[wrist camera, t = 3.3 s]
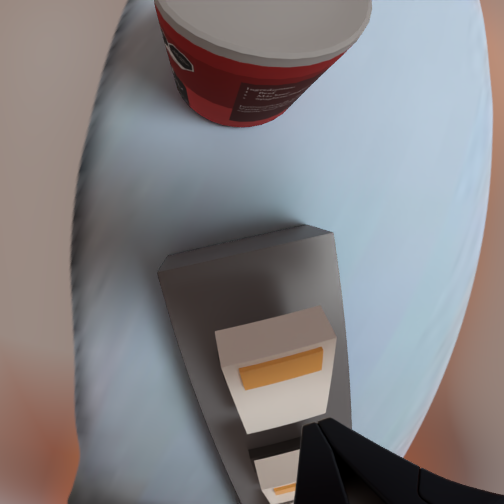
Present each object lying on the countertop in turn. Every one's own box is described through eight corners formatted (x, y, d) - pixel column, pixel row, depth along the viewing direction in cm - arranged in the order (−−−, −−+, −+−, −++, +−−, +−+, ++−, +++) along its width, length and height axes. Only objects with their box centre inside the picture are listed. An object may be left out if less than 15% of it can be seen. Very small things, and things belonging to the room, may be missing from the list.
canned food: (202, 14, 17) (204, -100, 6) (311, 52, 18) (388, -37, 8) (155, 107, 18) (105, 21, 7) (274, 148, 19) (348, 100, 9)
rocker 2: (325, 467, 19) (333, 490, 17) (265, 483, 18) (271, 507, 16) (334, 438, 14) (346, 469, 13) (253, 460, 14) (262, 493, 12)
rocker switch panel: (337, 497, 26) (353, 531, 21) (258, 518, 25) (266, 555, 20) (306, 224, 20) (340, 234, 15) (168, 255, 20) (154, 277, 14)
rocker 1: (315, 387, 17) (326, 415, 15) (240, 407, 17) (248, 437, 15) (320, 305, 13) (338, 341, 11) (214, 331, 12) (222, 371, 11)
